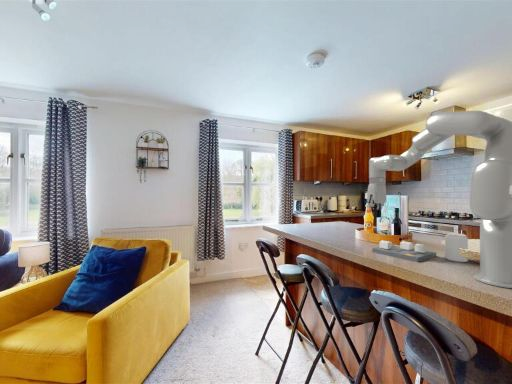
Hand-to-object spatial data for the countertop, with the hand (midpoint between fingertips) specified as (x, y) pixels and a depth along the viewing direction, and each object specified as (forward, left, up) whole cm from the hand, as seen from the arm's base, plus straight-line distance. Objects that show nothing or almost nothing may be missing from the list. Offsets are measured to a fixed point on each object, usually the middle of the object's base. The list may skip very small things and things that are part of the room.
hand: (377, 217), depth 124 cm
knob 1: (0, -7, -17) cm, 18 cm away
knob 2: (-7, -14, -17) cm, 23 cm away
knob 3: (-14, -14, -17) cm, 26 cm away
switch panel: (-7, -10, -19) cm, 23 cm away
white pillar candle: (-26, -19, -19) cm, 38 cm away
